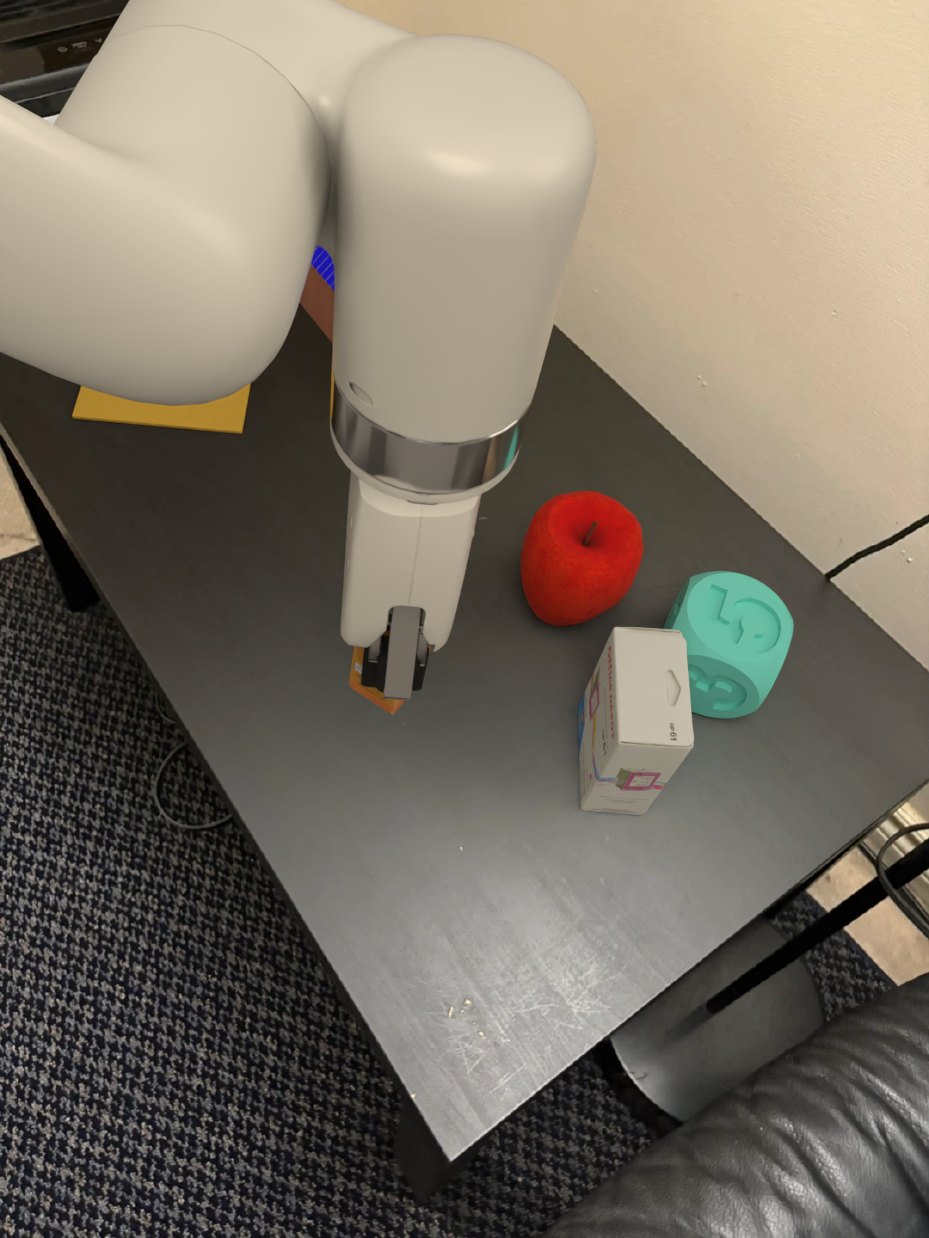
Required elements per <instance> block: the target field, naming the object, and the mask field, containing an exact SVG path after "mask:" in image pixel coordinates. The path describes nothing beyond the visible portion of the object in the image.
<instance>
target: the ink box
mask: <svg viewBox="0 0 929 1238" xmlns="http://www.w3.org/2000/svg"><path fill="white" fill-rule="evenodd" d="M577 728H578V729H577V730H578V731H577V732H578V733H577V735H578V760H579V761H578V762H579V763H578V764H579V799H580V800H579V802H580V805H579V807H580V811H584V812H591V813H592V812H594V813H602V814H604V813H605V814H617V815H629V816H630V815H631V816H643V815H645V814H646V813H647V812H648V811H649V809H650V808H651V806H652V805H653V803H654V802H655V801H656V799H657V797H658V796H659V795H660V793H661V792H662V791H663V790H664V788H665V787H666V785H667V784H668V782H669V781H670V779H671V778H672V777H673V775H674V774H675V773H676V771H677V770H678V768H680V766H681V764H682V763H683V762H684V760H685V759H686V757H687V756H688V755H689V754H690V752H691V750H692V749H694V746H695V743H694V741H695V733H694V726H693V714H692V711H691V699H690V687H689V673H688V662H687V643H686V640H685V639H684V638H683V636H682V633H681V632H680V631H679V630H670V629H663V628H656V627H655V628H654V627H637V626H636V627H635V626H614V627H613V628H612V630H611V633H610V635H609V636H608V638H607V640H606V643H605V645H604V648H603V649H602V652H601V654H600V657H599V659H598V661H597V663H596V666H595V668H594V671H593V673H592V676H591V677H590V679H589V681H588V683H587V686H586V688H585V691H584V692H583V694H582V697H581V700H580V702H579V704H578V706H577Z"/></svg>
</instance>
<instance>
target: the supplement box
mask: <svg viewBox="0 0 929 1238" xmlns="http://www.w3.org/2000/svg"><path fill="white" fill-rule="evenodd" d="M389 632H390V631H385V632H384V633H383V634H382V635H385V636H389ZM431 651H432V648H431V647H430V648H429V655H430V653H431ZM363 653H364V647H357V646H353V653H352V658H351V663H350V670H349V671H350V672H349V679H348V680H349V681H348V686H349V688H350V689H352V690H354V691H355V692H357V693H358V694H360V695H361V696H362V697H364V698H365V699H366V700H368V701H370V702H372V703H373V704H374V705H376V706H377V707H379V708H380V709H382V710H384V711H385V712H387V713H388V714H390V715H394V714H395V713H396V712H397V711H398V710H399V708H400V707H401V706H402V705H403V704H404V703H405V702H406V700H394V699H383V692H380V691H378V690H377V688H373V687H365V686H363V685H361V673H362V663H363Z"/></svg>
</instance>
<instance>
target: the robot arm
mask: <svg viewBox="0 0 929 1238" xmlns="http://www.w3.org/2000/svg"><path fill="white" fill-rule="evenodd" d="M597 140H598V139H597V133H596V128H595V124H594V120H593V115H592V114H591V111H590V109H589V107H588V104H587V102H586V101H585V99H584V97H583V95H582V94H581V92H580V91H579V90H578V89H577V87H576V86H575V85H574V84H573V83H572V81H570V80H569V79H568V78H567V77H566V76H565V75H564V74H563V73H562V72H561V71H560V70H558V69H557V68H556V67H555V66H554V65H553V64H551V63H549V62H548V61H546V60H545V59H543V58H541V57H540V56H538V55H536V54H534V53H532V52H530V51H528V50H526V49H523V48H521V47H518V46H515V45H513V44H511V43H507V42H504V41H500V40H496V39H493V38H488V37H482V36H478V35H471V34H456V33H453V34H452V33H450V34H449V33H447V34H431V35H419V34H416V33H414V32H411V31H409V30H406V29H403V28H400V27H398V26H395V25H392V24H390V23H387V22H384V21H383V20H380V19H377V18H375V17H373V16H371V15H368V14H366V13H364V12H361V11H359V10H357V9H355V8H353V7H349V6H348V5H345V4H342V3H341V2H338V1H336V0H128V2H127V3H126V5H125V7H124V9H123V10H122V11H121V13H120V15H119V17H118V18H117V20H116V22H115V23H114V25H113V27H112V28H111V29H110V31H109V34H107V37H106V38H105V40H104V41H103V44H102V45H101V47H100V49H99V50H98V51H97V54H95V55H94V56H93V58H92V59H91V61H90V63H89V64H88V66H87V68H86V69H85V71H84V73H83V74H82V76H81V77H80V79H79V80H78V82H77V83H76V85H75V88H74V89H73V90H72V93H70V96H69V97H68V99H67V101H66V103H65V104H64V106H63V107H62V109H61V111H60V113H59V114H58V116H57V117H56V119H55V120H54V123H53V122H51V121H48V120H47V119H45V118H43V117H41V116H40V115H38V114H35V113H34V112H33V111H31V110H28V109H27V108H25V107H23V106H21V105H19V104H18V103H16V102H14V101H12V100H11V99H8V98H6V97H4V96H3V95H1V94H0V353H2V354H3V355H5V356H6V355H7V356H8V357H11V358H13V359H14V360H17V361H20V362H22V363H24V364H27V365H29V366H32V367H35V368H36V369H39V370H40V371H43V372H46V373H47V374H49V375H52V376H54V377H57V378H59V379H63V380H65V381H68V382H70V383H74V384H76V385H79V386H80V387H81V386H84V387H86V388H89V389H92V390H95V391H99V392H102V393H106V394H109V395H113V396H116V397H120V398H123V399H128V400H132V401H136V402H143V403H151V404H159V405H167V406H180V405H197V404H204V403H208V402H211V401H215V400H218V399H221V398H225V397H228V396H231V395H232V394H234V393H236V392H237V391H239V390H240V389H242V388H244V387H245V386H247V385H248V384H250V383H251V384H252V383H253V382H255V381H256V380H257V379H258V378H259V377H260V375H262V373H264V371H265V370H266V369H267V368H268V367H269V366H270V365H271V363H272V362H273V361H274V360H275V358H276V357H277V356H278V353H279V352H280V350H281V349H282V347H283V346H284V343H285V341H286V339H287V336H288V335H289V332H290V329H291V327H292V325H293V322H294V319H295V317H296V314H297V311H298V308H299V304H300V303H299V302H300V298H301V295H302V292H303V288H304V285H305V282H306V279H307V275H308V272H309V269H310V265H311V262H312V258H313V255H314V252H315V248H316V245H317V246H320V247H322V248H323V249H325V250H326V251H327V253H328V254H329V255H330V257H331V258H332V261H333V265H334V319H333V343H332V357H331V377H330V409H329V410H330V411H329V412H330V413H329V429H330V436H331V441H332V443H333V446H334V448H335V451H336V453H337V455H338V456H339V458H340V459H341V461H342V462H343V463H344V465H345V466H346V467H347V468H348V469H349V470H350V477H349V489H348V503H347V516H346V517H347V518H346V532H345V534H346V535H345V551H344V552H345V553H344V569H343V584H342V585H343V586H342V598H341V599H342V600H341V614H340V627H339V628H340V629H339V630H340V631H339V633H340V636H341V638H342V640H343V641H344V642H345V643H346V644H347V645H348V646H351V647H354V646H357V647H364V653H363V663H362V673H361V685H363V686H365V687H373V688H377V690H378V691H380V692H383V699H394V700H405V701H409V702H411V699H412V693H413V692H417V691H421V690H423V684H424V681H425V675H426V671H427V666H428V663H429V662H428V661H429V657H430V654H429V648H430V647H431V651H432V653H435V652H438V651H439V650H441V648H443V646H445V645H446V643H447V642H448V639H449V637H450V635H451V631H452V628H453V624H454V620H455V617H456V613H457V609H458V605H459V602H460V601H459V600H460V597H461V593H462V588H463V584H464V579H465V575H466V571H467V565H468V560H469V557H470V552H471V547H472V542H473V538H474V536H475V533H476V532H475V529H476V523H477V519H478V513H479V509H480V503H481V500H482V499H481V498H482V494H484V493H486V492H488V491H490V490H491V489H493V488H494V487H495V486H497V485H498V484H499V483H500V482H502V480H503V479H504V478H505V477H506V476H507V475H508V474H509V473H510V471H511V470H512V468H513V467H514V465H515V463H516V461H517V458H518V456H519V452H520V449H521V445H522V444H521V443H522V441H523V436H524V433H525V429H526V425H527V423H528V422H527V421H528V418H529V414H530V412H531V411H530V410H531V407H532V404H533V400H534V397H535V392H536V389H537V386H538V382H539V378H540V374H541V371H542V367H543V364H544V361H545V357H546V354H547V349H548V346H549V342H550V340H551V339H550V338H551V335H552V332H553V328H554V325H555V321H556V317H557V313H558V309H559V306H560V303H561V299H562V295H563V292H564V287H565V284H566V281H567V277H568V274H569V273H568V272H569V270H570V266H571V262H572V259H573V254H574V251H575V247H576V243H577V240H578V237H579V232H580V229H581V225H582V222H583V218H584V215H585V211H586V207H587V203H588V200H589V196H590V192H591V188H592V184H593V179H594V174H595V170H596V164H597V152H598V151H597V149H598V148H597V147H598V143H597ZM385 631H390V632H389V636H385V635H382V634H383V633H384V632H385Z"/></svg>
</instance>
